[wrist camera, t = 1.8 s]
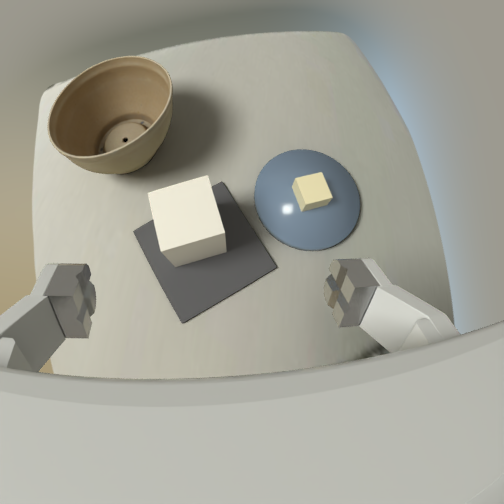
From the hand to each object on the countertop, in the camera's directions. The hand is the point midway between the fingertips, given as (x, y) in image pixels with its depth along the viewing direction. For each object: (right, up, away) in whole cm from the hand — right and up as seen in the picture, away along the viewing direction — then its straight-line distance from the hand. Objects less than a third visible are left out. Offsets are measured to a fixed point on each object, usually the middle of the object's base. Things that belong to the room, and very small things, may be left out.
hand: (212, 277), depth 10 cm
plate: (+9, +8, +30) cm, 32 cm away
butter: (+9, +8, +30) cm, 32 cm away
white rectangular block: (-6, +3, +28) cm, 28 cm away
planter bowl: (-16, +16, +31) cm, 38 cm away
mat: (-5, +1, +28) cm, 28 cm away
